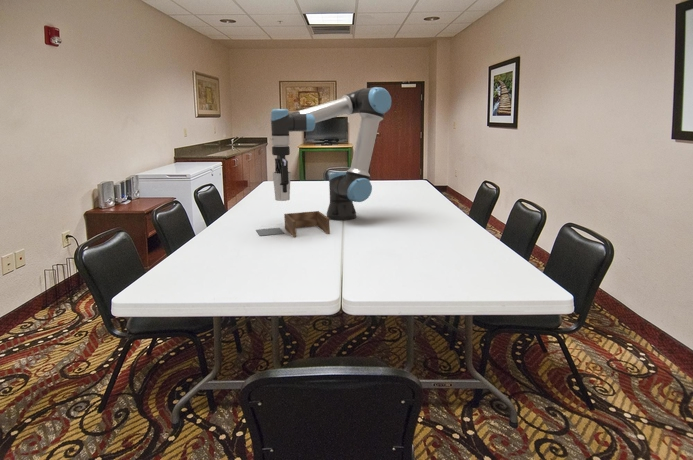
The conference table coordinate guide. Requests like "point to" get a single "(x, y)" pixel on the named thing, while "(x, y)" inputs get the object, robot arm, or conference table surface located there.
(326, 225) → the three-sided wooden box
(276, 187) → the cup
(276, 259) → the conference table surface
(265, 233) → the mat
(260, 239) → the conference table surface
